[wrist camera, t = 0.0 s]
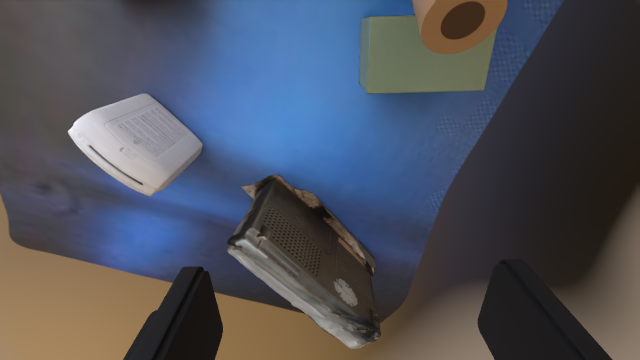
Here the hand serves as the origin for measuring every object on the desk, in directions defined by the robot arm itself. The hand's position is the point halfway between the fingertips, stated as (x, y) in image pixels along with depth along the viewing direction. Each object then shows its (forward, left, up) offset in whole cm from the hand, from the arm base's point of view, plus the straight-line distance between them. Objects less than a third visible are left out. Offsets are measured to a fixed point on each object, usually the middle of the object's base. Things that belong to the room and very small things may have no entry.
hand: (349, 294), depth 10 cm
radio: (+20, -3, -31) cm, 37 cm away
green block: (-5, +10, -31) cm, 33 cm away
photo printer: (+3, -21, -31) cm, 38 cm away
